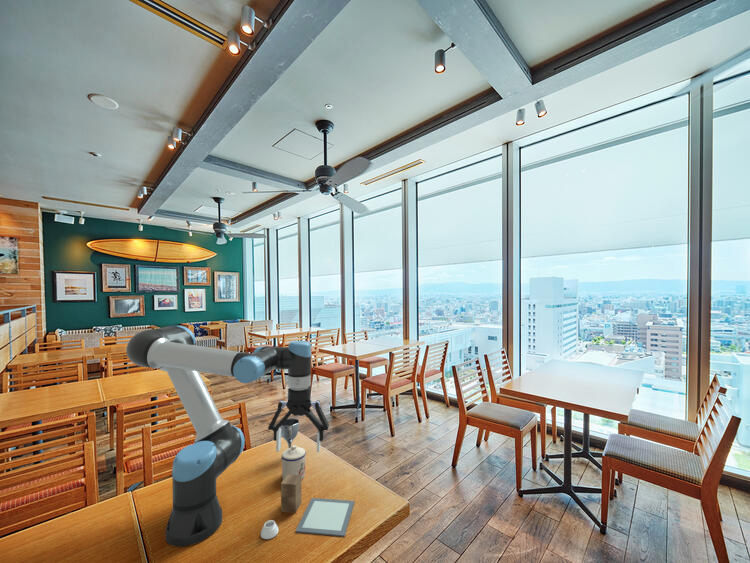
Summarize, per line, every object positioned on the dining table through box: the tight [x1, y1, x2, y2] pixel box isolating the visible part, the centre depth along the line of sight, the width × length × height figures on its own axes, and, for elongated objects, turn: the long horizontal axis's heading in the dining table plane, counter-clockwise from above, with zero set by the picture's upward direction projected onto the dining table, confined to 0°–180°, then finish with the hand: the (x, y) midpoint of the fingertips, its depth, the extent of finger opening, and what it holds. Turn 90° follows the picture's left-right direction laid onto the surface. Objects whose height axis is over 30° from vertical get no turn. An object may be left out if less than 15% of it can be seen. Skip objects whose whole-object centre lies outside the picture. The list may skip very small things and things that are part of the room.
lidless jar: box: [260, 519, 279, 540], centre depth 94 cm, size 5×3×5 cm
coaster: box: [295, 497, 355, 537], centre depth 101 cm, size 15×15×1 cm
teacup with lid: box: [281, 444, 306, 481], centre depth 124 cm, size 12×9×12 cm
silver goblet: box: [279, 417, 300, 460], centre depth 137 cm, size 8×8×15 cm
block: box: [280, 475, 302, 514], centre depth 105 cm, size 5×5×9 cm
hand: (298, 450), depth 107 cm, fingers open, 13 cm apart
